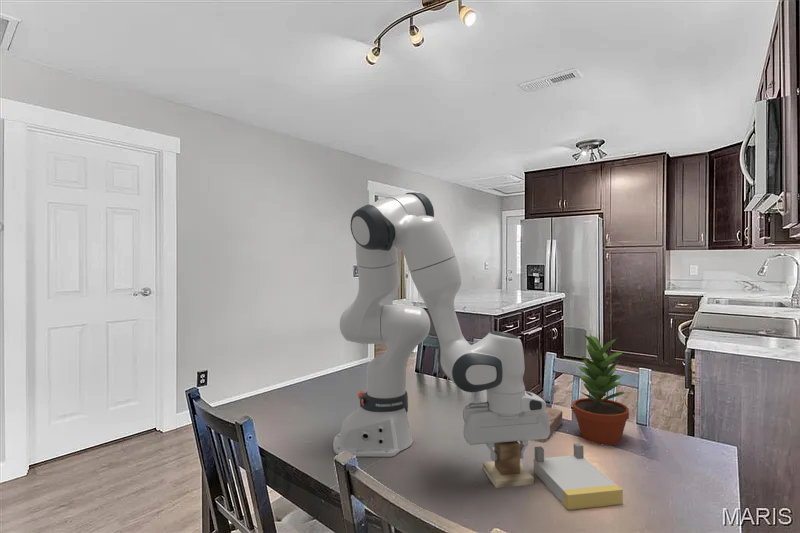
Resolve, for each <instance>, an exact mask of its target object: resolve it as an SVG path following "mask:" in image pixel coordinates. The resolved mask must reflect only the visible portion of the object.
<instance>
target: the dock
mask: <svg viewBox="0 0 800 533" xmlns="http://www.w3.org/2000/svg"><path fill="white" fill-rule="evenodd" d="M584 454H585V452H584V445H583V444H582V443H581V442H576V443H575V442H574V443H573V455H563V456H552V457H545V450H544V447H543V446H534V458H533V472H534V473H535V475H536V476H537V477H538V479H540V480H541V481H542V482H543V484H545V486H546V487H547V488H548V489H549V490H550V492H552V493H553V495H554V496H555V497H556V498H557V499H558V500H559V501H560V502H561V504H562V505H563V506H564V507H565V508H566V509H567V511H568V510H578V509H579V510H580V509H588V508H599V507H607V506H608V507H609V506H617V505H623V504H624V501H623V500H624V499H623V495H624V494H623V490H624V489H622V488H621V487H620V486H619V485H618V484H616V483H615V482H614V481H613V480H612V479H610V478H609V477H608V476H607V475H605V474H604V473H603V472H602V471H601V470H600V469H598V468H597V467H596V466H595V465H593V464H592V463H591V462H590V461H589V460H587V459H586V458H585V457H584Z"/></svg>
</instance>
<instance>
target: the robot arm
mask: <svg viewBox="0 0 800 533" xmlns="http://www.w3.org/2000/svg"><path fill="white" fill-rule="evenodd" d="M350 231H351V235H352V238H353V240H354V241H355V257H356V267H357V268H356V269H357V274H358V275H357V276H358V278H357V279H358V291H357V292H358V293H357V295H356V298H355V299H354V301H353V302H352V304H351V305H349V306H348V307H347V308H345V309H344V311H343V313H342V314H341V316H340V319H339V330H340V331H339V332H340V333H341V335H342V337H343V338H344V339H345V340H346V341H347V342H352V343H357V344H362V345H363V344H364V345H366V344H367V345H385V346H386V351H385V352H384V353H383V354H380V355H377V356H376V357H375V358H373V359H372V360H370V362H368V364H367V367H366V369H365V370H366V392H365V391H363V390H360V391H359V392H357V396H358V397H357V398H358V400H359V407H358V408H357V409H355V410H354V411H353V412H351V413H350V414H349V415H347V416H346V418H344V420H343V422H342V426H341V429H340V432H339V433H338V434H336V436H334V439H333V442H332V443H333V444H332V449H333V452H334V453H335V455H337V454H339V453H341V452H343V451H348V452H350V453H351V454H353V455H356V456H355V457H370V458H371V457H373V458H374V457H376V458H377V457H384V458H385V457H387V458H388V457H395V456H396V455H397V454H399V452H401V451H403V450H405V449H407V448H409V447H411V446H412V444H413V442H414V439H413V436H412V433H411V429H410V424H409V417H408V411H409V395H408V392H407V391H408V390H407V385H406V383H407V382H406V381H407V378H406V377H407V366H408V362H409V358H410V356H411V354H412V353H413V351H414V350H415V349H416V348H417V347H418V346H419V345H420V344H421V343H422V342H424V341H425V340H426V339H427V337H428V336H429V333H430V331H431V330H430V329H431V321H432V326H433V329H434V331H435V334H436V337H437V344H438V349H437V351H438V352H437V363H438V367H439V370H440V371H441V373H442V374H443V375H444V376H445V377H447V379H449V380H450V381H451V382H452V383H453V384H454V385H456V387H457V388H459V389H460V390H462V391H464V392H465V393H477V392H482V391H486V401H481V402H470V403H469V404H468V405H466V406H465V407H464V408H463V410H462V418H463V421H464V422H463V438H464V440H465V441H466V443H467V444H468V445H470V446H475V445H486V447H487V449H488V450H489V451H490V459H491V462H495V461H499V453H498V452H497V451H494V443H501V442H513V441H517V442H520V443H519V444H520V460H521V459H524V452H525V450H526V448H527V447H528V445H529V441H535V440H537V439H547V438H548V436H549V435H550V423H549V417H548V414H547V412H546V411H545V409H546V407H547V403H546V401H545V400H544V399H543V398H542V397H540V396H539V395H538V394H535V393H534V392H531V391H530V392H529V391H526V386H525V383H524V374H525V372H526V371H525V370H526V369H525V366H526V365H525V355H524V352H525V351H524V347H523V343H522V340H521V339H520V338H519V336H517V335H515V334H512V333H508V332H504V331H496V330H495V331H489V332H488V333H487V335H486V336H484V337H483V338H481V340H479V341H477V342H475V343H473V344H470V343H469V342H468V340H466V338H465V337H464V335H463V333H462V329H461V326H460V323H459V319H458V316H457V313H456V309H455V298H456V296H457V293H458V292H459V291H460V288H461V286H462V279H461V278H462V276H461V272H460V267H459V263H458V260H457V257H456V253H455V252H454V249H453V245H452V244H451V241H450V240H449V239H450V238H449V237H448V235H447V233H446V231H445V230H444V228H443V226H442V224H441V223H440V221H439V220H438V218H436V217H435V210H434V206H433V204H432V201H431V200H430V199H429V197H428V196H426V195H425V194H424V193H420V192H407V193H405V194H398V195H392V196H388V197H385V198H384V199H380V200H378V201H375V202H373V203H371V204H366V205H363V206H361V207H359V208H358V209H357V210H355V211H354V212H353V213H352V215H351V217H350ZM397 248H398V249H399V250H400V251H401V252H402V253H403V256H404V258H405V261H406V265H407V269H408V271H409V274H410V276H411V279H412V281H413V283H414V286H415V288H416V290H417V292H418V293H419V296H420V298H421V299H422V301H423V303H424V305H425V306H426V308H427V310H428V312H427V311H426V310H425V309H424V308H423V307H421V306H420V307H419V306H414V305H410V304H383V303H382V301H383V300H385V299H387V298H389V297H390V296H392V295H394V294H395V293H396V291H398V289H399V288H400V285H401V278H400V277H401V276H400V265H399V256H398V255H399V254H398V249H397ZM428 313H429V314H428ZM429 315H430V316H429ZM549 437H550V436H549ZM548 439H549V438H548ZM548 439H547V440H548Z"/></svg>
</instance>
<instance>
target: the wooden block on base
mask: <svg viewBox="0 0 800 533" xmlns="http://www.w3.org/2000/svg"><path fill="white" fill-rule="evenodd" d="M493 450H494V451H497V452H498V453H499V461H486V462H485V461H483V462H482V470H483V471H484V472H485V475H487V477H488V478H489V480H490V482H491V483H492V484H493V487H495V489H499V488H510V487H519V486H520V487H521V486H528V485H535V482H534V481H535V478H534V476H533V475H532V473H531V472H530V471H529V470H527V468H526V467H525V466H524V465H523V463H522V462H521V459H520V443H519V441H513V442H501V443H494V447H493Z"/></svg>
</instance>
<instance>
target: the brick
mask: <svg viewBox="0 0 800 533" xmlns="http://www.w3.org/2000/svg"><path fill="white" fill-rule="evenodd" d="M545 411H546V412H547V414H548V417H549V423H550V435H549V436H548V438H547V439H537V440H534V441H536V442H540V443H545V442H546V441H548V440H549V438H550V437H552V435H553V434H554V433H555V432H556V431H557V430H558V429H559V427H560V426H561V425H562V422H563V414H564V413H563V411H562V410H561V409H557V408H554V407H547V406H546V409H545Z"/></svg>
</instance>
